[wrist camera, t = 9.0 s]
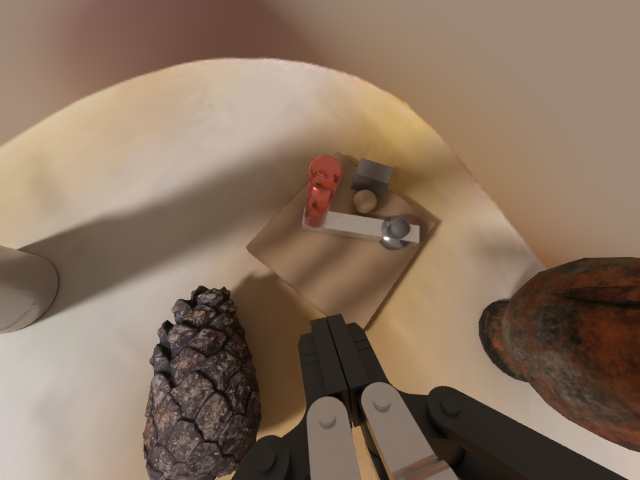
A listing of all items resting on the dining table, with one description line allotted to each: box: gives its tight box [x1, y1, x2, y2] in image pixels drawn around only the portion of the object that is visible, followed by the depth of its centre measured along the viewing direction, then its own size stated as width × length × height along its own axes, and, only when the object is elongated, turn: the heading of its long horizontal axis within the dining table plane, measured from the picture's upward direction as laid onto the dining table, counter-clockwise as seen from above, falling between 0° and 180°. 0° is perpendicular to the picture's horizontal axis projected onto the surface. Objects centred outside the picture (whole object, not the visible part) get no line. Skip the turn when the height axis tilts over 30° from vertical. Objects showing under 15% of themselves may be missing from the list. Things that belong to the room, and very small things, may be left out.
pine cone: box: [143, 286, 262, 480], centre depth 25 cm, size 10×18×10 cm, turn 18°
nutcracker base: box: [246, 152, 435, 329], centre depth 34 cm, size 18×20×6 cm
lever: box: [302, 155, 419, 250], centre depth 28 cm, size 16×4×14 cm, turn 82°
